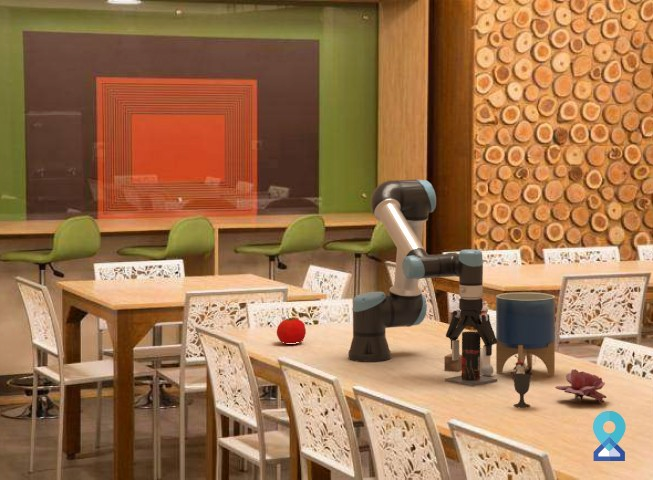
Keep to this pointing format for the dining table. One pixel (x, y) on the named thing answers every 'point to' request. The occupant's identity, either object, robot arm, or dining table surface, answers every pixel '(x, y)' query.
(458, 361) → the walnut block
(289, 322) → the tomato
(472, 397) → the dining table surface
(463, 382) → the slate coaster
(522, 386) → the sundae
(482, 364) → the candle
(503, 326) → the planter
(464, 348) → the deodorant
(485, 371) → the grey ball
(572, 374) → the flower
